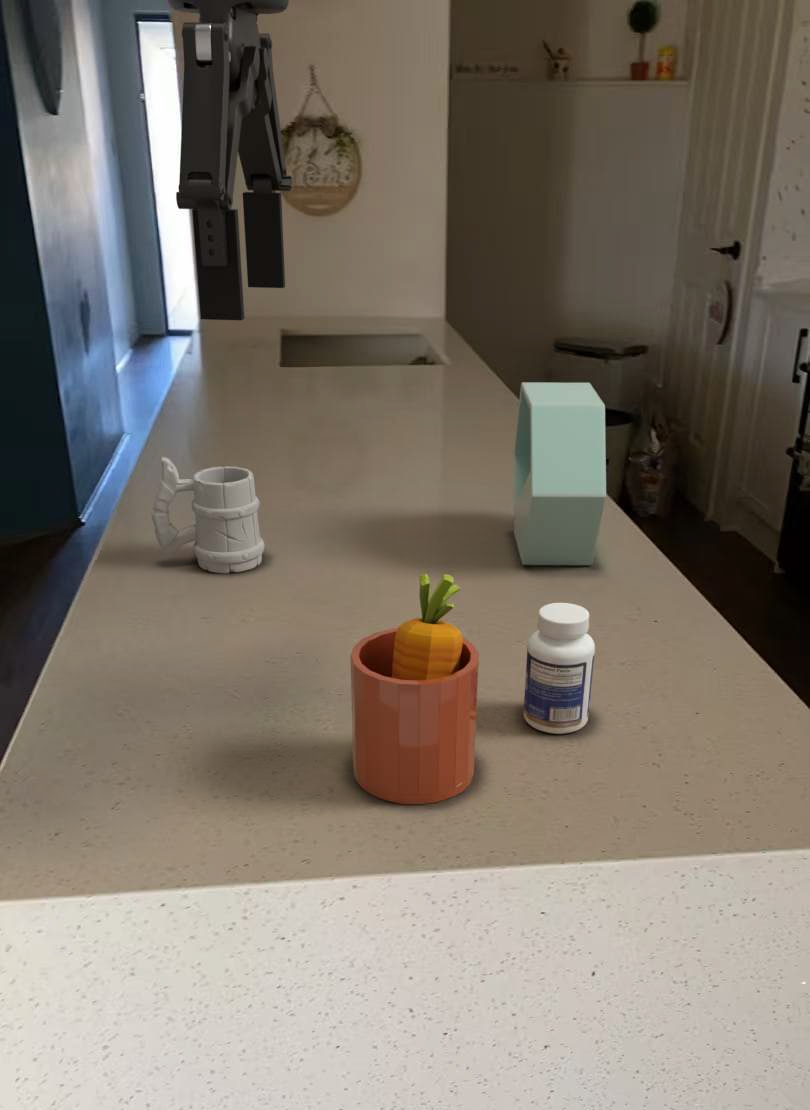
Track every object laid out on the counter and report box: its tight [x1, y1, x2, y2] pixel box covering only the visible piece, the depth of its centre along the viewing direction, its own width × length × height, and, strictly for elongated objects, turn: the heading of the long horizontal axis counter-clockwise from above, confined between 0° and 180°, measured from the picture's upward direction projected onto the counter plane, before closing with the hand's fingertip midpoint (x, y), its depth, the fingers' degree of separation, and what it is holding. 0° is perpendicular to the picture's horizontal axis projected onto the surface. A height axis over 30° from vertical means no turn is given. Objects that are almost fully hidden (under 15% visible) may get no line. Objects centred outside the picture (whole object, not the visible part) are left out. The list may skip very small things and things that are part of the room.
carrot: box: [392, 573, 463, 681], centre depth 80 cm, size 5×5×15 cm
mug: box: [150, 456, 266, 574], centre depth 118 cm, size 8×12×12 cm, turn 101°
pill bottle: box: [523, 602, 596, 735], centre depth 88 cm, size 5×5×10 cm
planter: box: [513, 381, 607, 566], centre depth 121 cm, size 17×8×21 cm
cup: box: [350, 627, 480, 805], centre depth 81 cm, size 9×9×10 cm
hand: (246, 302), depth 77 cm, fingers open, 13 cm apart
